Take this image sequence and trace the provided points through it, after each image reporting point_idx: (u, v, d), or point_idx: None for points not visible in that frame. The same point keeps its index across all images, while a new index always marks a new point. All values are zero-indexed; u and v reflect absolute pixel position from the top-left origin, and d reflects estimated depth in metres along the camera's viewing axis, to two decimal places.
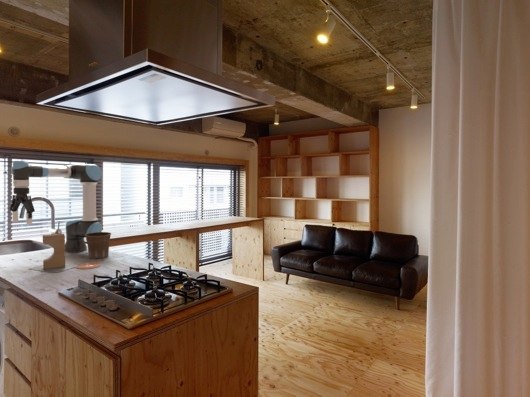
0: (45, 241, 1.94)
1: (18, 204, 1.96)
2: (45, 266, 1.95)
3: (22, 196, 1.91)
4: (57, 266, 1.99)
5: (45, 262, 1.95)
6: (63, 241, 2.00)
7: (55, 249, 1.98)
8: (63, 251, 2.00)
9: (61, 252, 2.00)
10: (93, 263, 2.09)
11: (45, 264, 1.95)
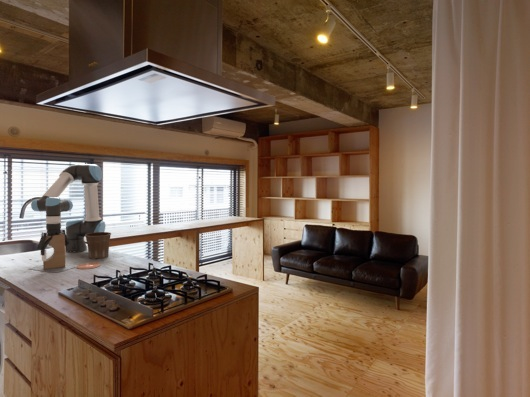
0: (45, 241, 1.94)
1: None
2: (45, 266, 1.95)
3: None
4: (57, 266, 1.99)
5: (45, 262, 1.95)
6: (63, 241, 2.00)
7: (55, 249, 1.98)
8: (63, 251, 2.00)
9: (61, 252, 2.00)
10: (93, 263, 2.09)
11: (45, 264, 1.95)
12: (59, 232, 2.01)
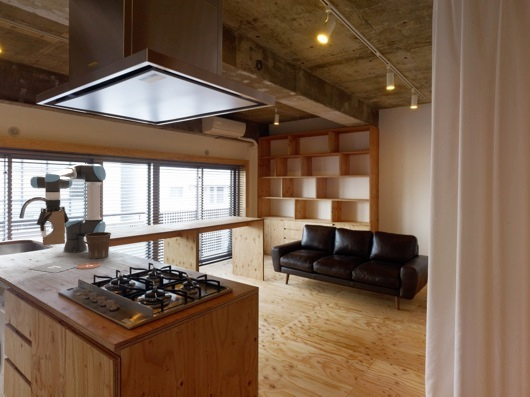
0: (44, 217, 1.94)
1: None
2: (44, 242, 1.95)
3: None
4: (57, 242, 1.98)
5: (44, 238, 1.94)
6: (62, 218, 1.99)
7: (54, 225, 1.97)
8: (63, 228, 1.99)
9: (61, 228, 1.99)
10: (93, 263, 2.09)
11: (44, 240, 1.94)
12: (59, 209, 2.00)
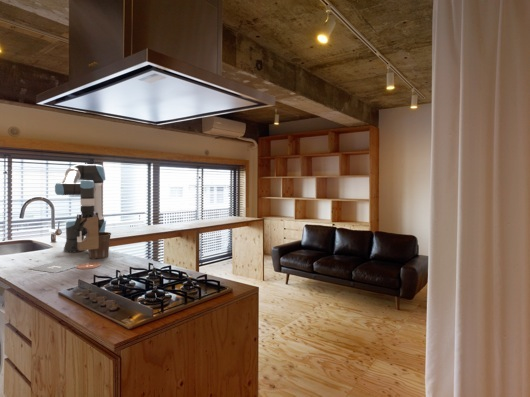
0: None
1: None
2: (80, 247, 1.99)
3: None
4: (91, 248, 2.03)
5: (80, 243, 1.99)
6: (97, 223, 2.04)
7: (89, 231, 2.02)
8: (96, 233, 2.04)
9: (95, 234, 2.04)
10: (93, 263, 2.09)
11: (80, 245, 1.99)
12: (92, 214, 2.05)
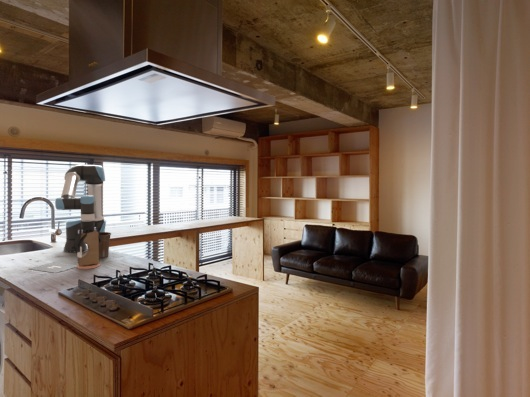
0: (80, 238, 1.99)
1: None
2: (80, 263, 2.00)
3: None
4: (91, 263, 2.04)
5: (80, 259, 2.00)
6: (97, 238, 2.04)
7: (89, 246, 2.02)
8: (97, 248, 2.05)
9: (95, 249, 2.04)
10: None
11: (80, 261, 2.00)
12: (93, 229, 2.06)
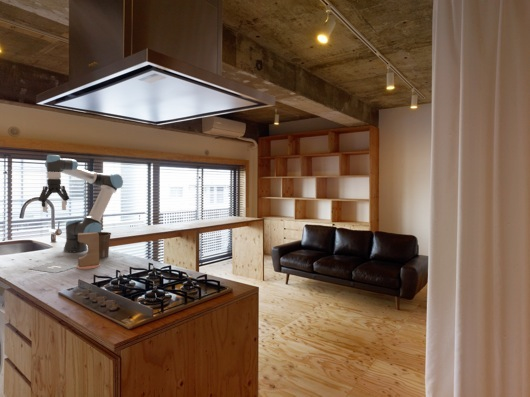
0: (80, 239, 1.99)
1: (59, 194, 2.19)
2: (80, 264, 2.00)
3: None
4: (91, 264, 2.04)
5: (80, 260, 2.00)
6: (97, 239, 2.05)
7: (90, 247, 2.03)
8: (97, 249, 2.05)
9: (96, 250, 2.05)
10: None
11: (80, 262, 2.00)
12: (59, 188, 2.18)
